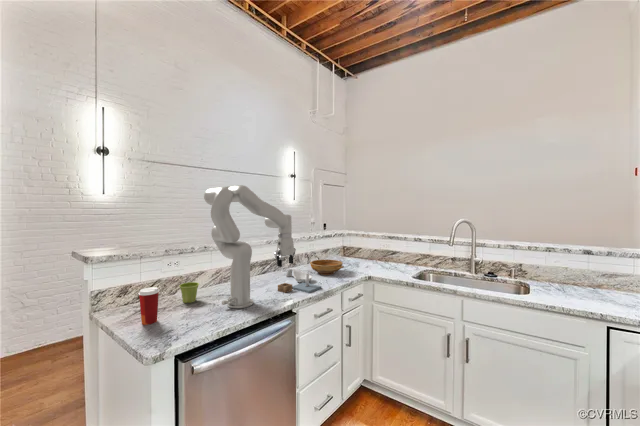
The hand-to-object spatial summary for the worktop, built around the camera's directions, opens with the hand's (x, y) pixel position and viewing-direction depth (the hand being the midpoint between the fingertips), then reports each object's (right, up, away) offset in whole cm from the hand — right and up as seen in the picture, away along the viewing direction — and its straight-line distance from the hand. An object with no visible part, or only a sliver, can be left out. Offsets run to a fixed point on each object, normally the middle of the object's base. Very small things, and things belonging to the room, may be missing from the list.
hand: (285, 264), depth 163 cm
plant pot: (-48, -16, -18) cm, 53 cm away
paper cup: (-52, -16, -45) cm, 71 cm away
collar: (0, -15, 0) cm, 15 cm away
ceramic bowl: (+25, -14, +44) cm, 52 cm away
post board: (+12, -15, +5) cm, 20 cm away
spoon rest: (+5, -15, +25) cm, 29 cm away
